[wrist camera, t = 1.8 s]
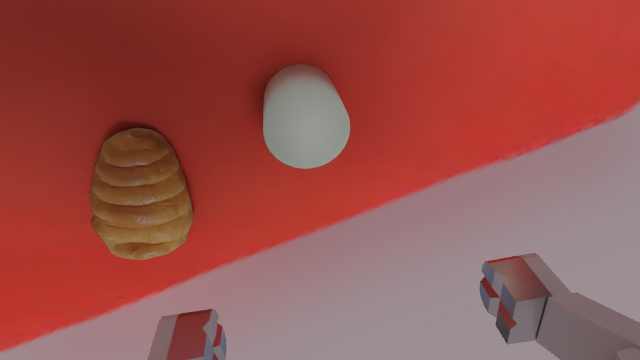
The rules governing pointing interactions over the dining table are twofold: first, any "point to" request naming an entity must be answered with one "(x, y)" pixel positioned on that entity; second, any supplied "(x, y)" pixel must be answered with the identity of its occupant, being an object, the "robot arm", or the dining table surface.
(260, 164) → the dining table surface
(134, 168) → the pastry
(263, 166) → the dining table surface
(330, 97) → the grey round cylinder
